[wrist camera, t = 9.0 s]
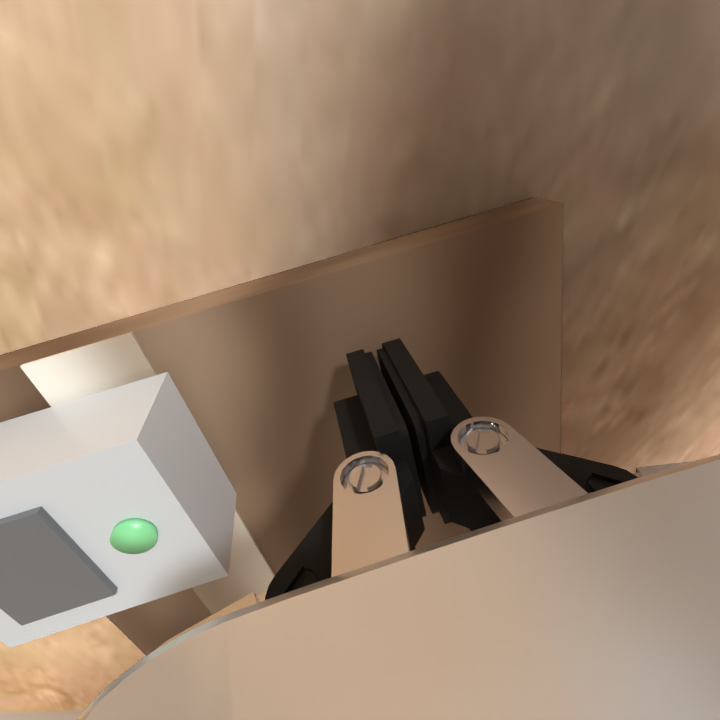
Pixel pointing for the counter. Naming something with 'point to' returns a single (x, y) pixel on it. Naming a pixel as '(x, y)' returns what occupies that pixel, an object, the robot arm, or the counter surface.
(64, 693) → the counter surface
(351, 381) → the board
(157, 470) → the white box with button
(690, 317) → the counter surface
